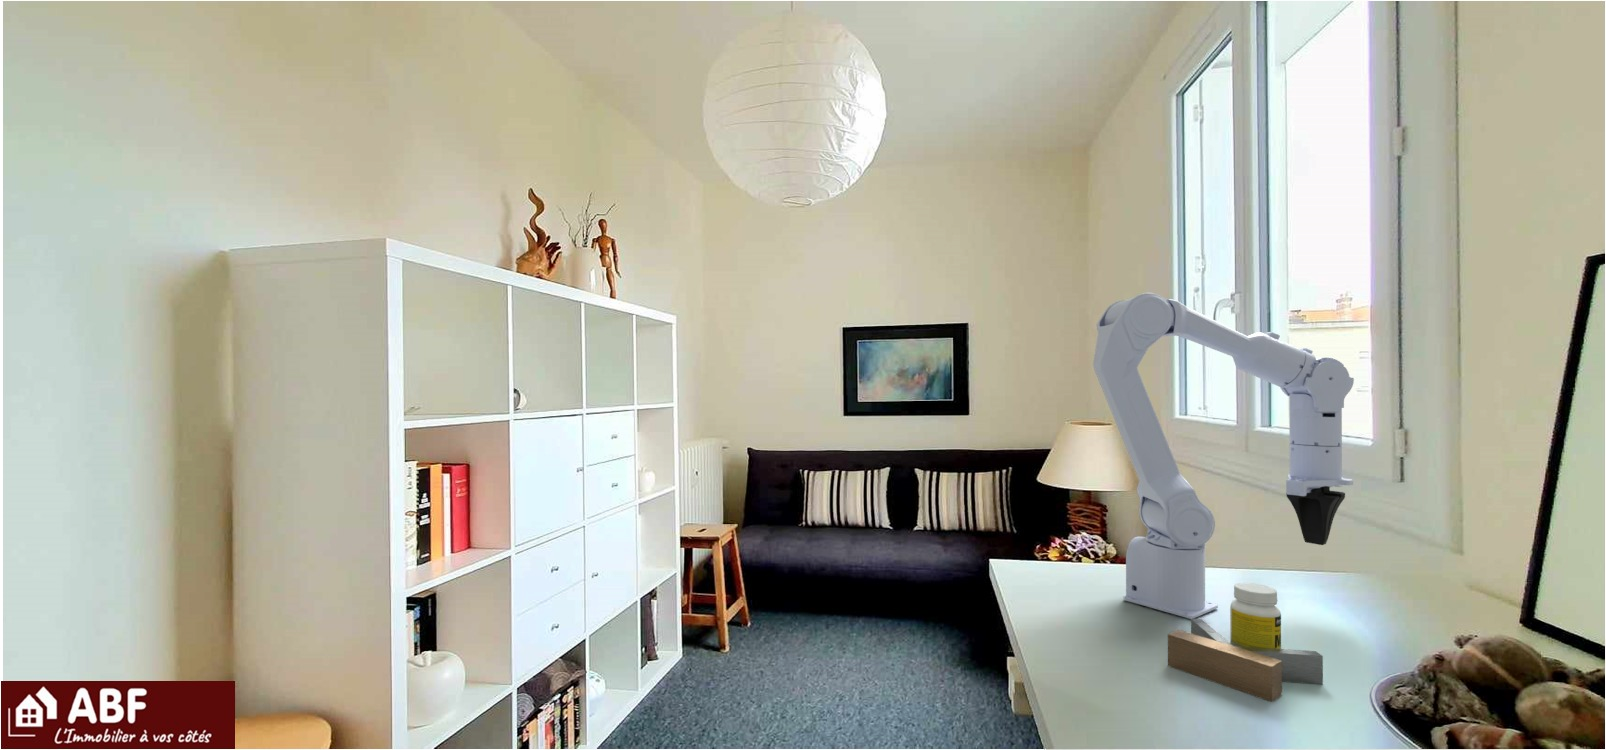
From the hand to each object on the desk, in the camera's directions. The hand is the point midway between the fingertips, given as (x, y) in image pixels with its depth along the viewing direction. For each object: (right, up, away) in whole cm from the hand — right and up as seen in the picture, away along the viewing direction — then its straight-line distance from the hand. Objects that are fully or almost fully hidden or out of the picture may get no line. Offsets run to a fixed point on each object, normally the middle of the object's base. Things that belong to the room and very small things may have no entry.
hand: (1315, 543), depth 90 cm
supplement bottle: (-20, -9, -16) cm, 27 cm away
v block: (-23, -9, -19) cm, 31 cm away
